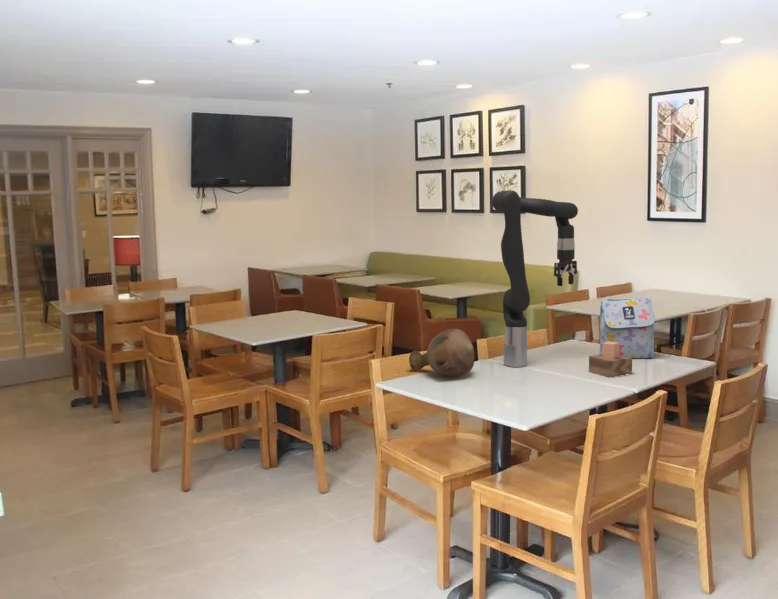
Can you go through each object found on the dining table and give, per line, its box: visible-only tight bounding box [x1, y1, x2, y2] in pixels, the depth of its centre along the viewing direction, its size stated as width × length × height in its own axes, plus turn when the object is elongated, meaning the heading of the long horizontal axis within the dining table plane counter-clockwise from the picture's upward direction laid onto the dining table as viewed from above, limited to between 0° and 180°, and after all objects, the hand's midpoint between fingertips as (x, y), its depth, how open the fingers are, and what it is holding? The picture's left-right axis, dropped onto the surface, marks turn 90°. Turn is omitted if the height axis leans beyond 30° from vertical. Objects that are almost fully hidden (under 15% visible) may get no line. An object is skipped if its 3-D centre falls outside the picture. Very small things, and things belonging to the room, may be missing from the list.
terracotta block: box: [602, 341, 619, 359], centre depth 315 cm, size 5×5×6 cm
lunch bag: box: [599, 297, 656, 359], centre depth 346 cm, size 22×17×26 cm
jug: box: [408, 328, 475, 378], centre depth 320 cm, size 20×20×30 cm
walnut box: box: [588, 353, 633, 379], centre depth 316 cm, size 12×12×7 cm
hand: (565, 285), depth 342 cm, fingers open, 8 cm apart
